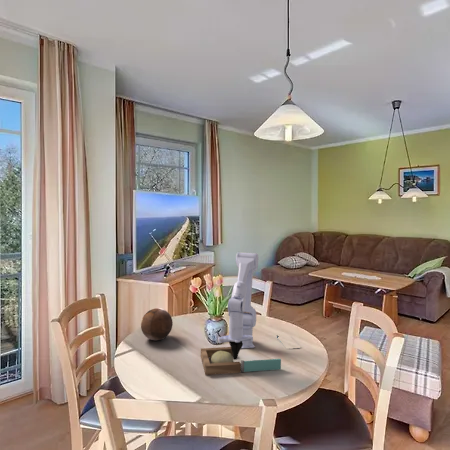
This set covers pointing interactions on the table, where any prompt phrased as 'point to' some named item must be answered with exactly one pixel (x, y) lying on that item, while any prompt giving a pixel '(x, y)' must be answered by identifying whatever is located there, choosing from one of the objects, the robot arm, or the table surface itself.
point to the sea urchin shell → (221, 357)
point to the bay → (218, 367)
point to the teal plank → (260, 365)
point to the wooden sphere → (156, 324)
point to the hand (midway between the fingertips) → (235, 358)
